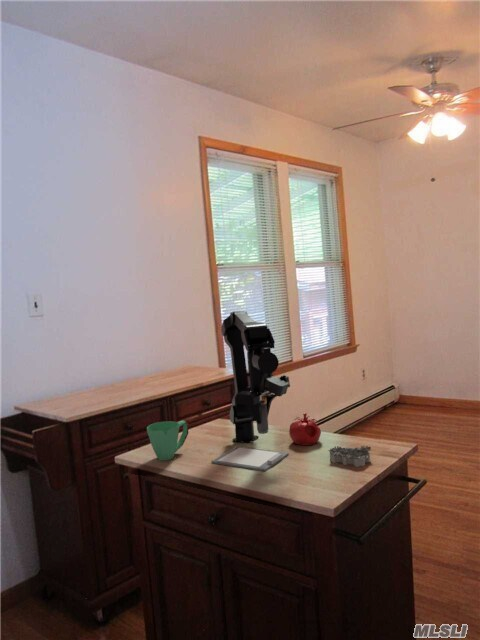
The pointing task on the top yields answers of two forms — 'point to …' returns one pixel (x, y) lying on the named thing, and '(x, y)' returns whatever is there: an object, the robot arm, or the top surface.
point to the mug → (166, 438)
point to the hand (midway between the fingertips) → (262, 422)
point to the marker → (263, 419)
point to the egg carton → (350, 455)
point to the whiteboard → (250, 458)
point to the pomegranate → (304, 431)
